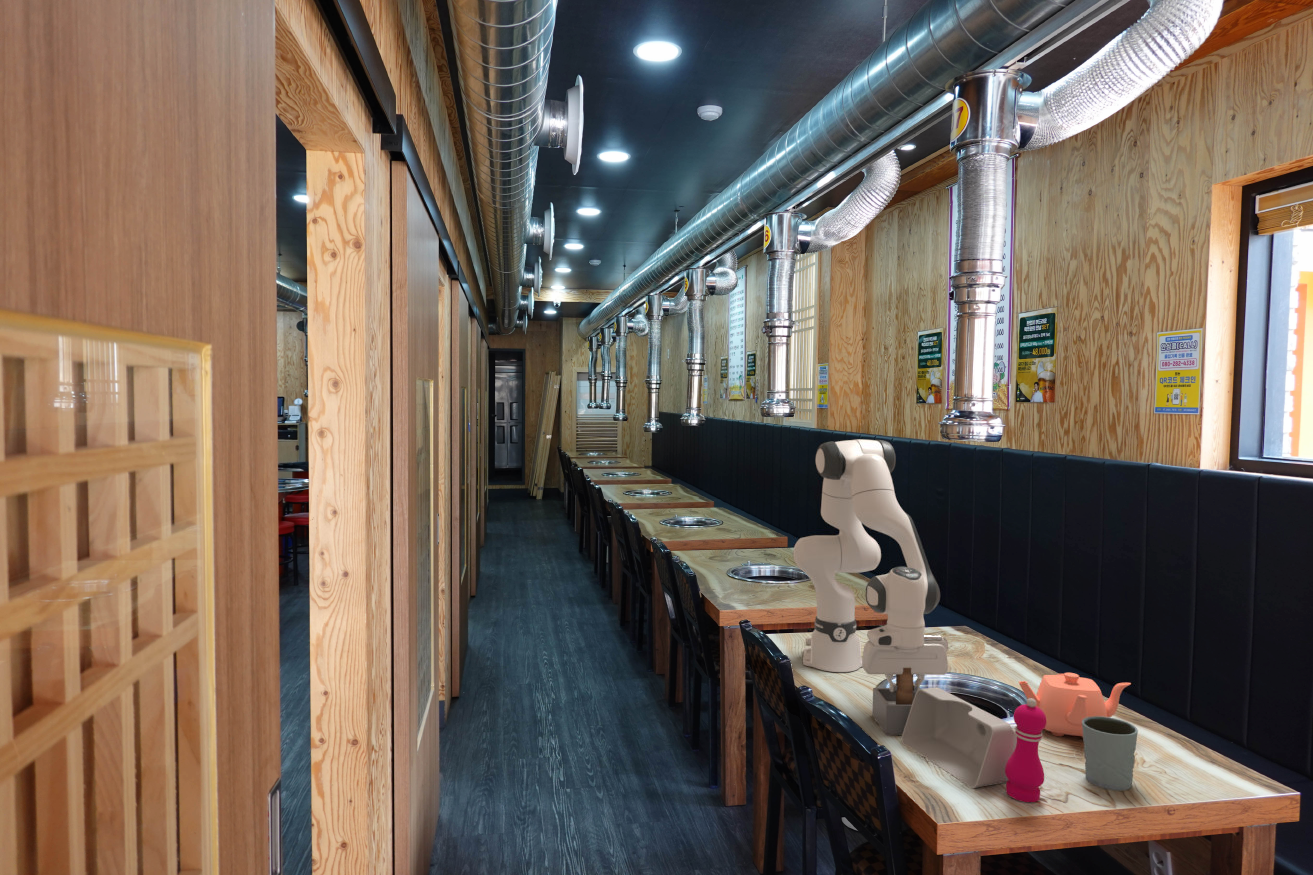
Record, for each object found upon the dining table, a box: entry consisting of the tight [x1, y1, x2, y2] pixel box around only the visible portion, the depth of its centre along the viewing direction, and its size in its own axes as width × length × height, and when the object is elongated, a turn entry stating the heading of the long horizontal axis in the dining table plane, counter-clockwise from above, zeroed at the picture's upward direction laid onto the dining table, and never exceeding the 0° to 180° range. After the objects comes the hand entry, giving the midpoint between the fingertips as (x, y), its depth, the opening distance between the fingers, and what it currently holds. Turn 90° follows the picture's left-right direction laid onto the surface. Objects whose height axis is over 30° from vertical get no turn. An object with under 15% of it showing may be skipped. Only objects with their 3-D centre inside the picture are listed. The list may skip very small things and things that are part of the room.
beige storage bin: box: [901, 686, 1017, 789], centre depth 182 cm, size 25×16×12 cm, turn 20°
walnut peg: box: [895, 668, 914, 705], centre depth 201 cm, size 4×4×12 cm
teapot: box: [1018, 672, 1132, 739], centre depth 198 cm, size 18×18×14 cm
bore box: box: [871, 687, 922, 736], centre depth 201 cm, size 12×12×7 cm
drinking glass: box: [1082, 716, 1139, 792], centre depth 172 cm, size 10×10×12 cm
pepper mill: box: [1005, 698, 1046, 803], centre depth 165 cm, size 7×7×20 cm
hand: (904, 691), depth 201 cm, fingers closed on walnut peg, 4 cm apart
